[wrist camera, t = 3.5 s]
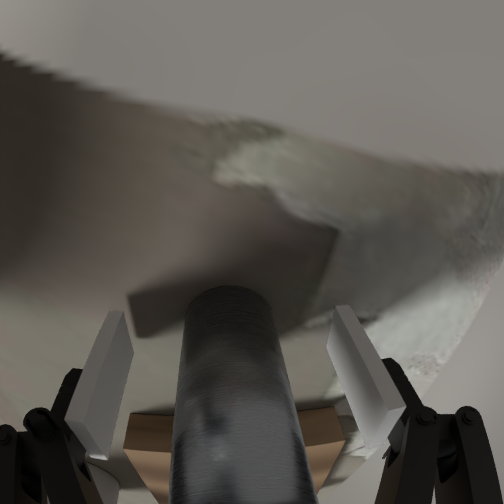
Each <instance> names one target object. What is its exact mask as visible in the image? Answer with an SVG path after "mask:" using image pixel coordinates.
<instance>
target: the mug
mask: <svg viewBox="0 0 504 504" xmlns="http://www.w3.org/2000/svg"><path fill="white" fill-rule="evenodd" d="M87 464H88V467H89V470H90V472H91V475H92V477H93V480H94V482H95V485H96V487H97V489H98V492H99V494H100V496H101V499H102V501H103V503H104V504H117V501H118V495H119V483H118V481H117V480H116V479H115V478H114V477H113V476H112V475H110V474H109V473H107V472H106V471H104V470H102V469H100V468H98V467H96V466H94V465H92V464H90V463H87ZM47 501H48V504H50V502H49V499H48V496H47Z"/></svg>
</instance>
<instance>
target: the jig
mask: <svg viewBox="0 0 504 504" xmlns="http://www.w3.org/2000/svg"><path fill="white" fill-rule="evenodd" d="M297 415H298V419H299V424H300V428H301V432H302V436H303V440H304V444H305V448H306V453H307V457H308V461H309V465H310V469H311V473H312V478H313V482H314V486H315V490H316V494H317V493H318V492H319V490H320V488H321V486H322V485H323V483H324V481H325V479H326V478H327V476H328V474H329V472H330V470H331V468H332V466H333V464H334V463H335V461H336V459H337V457H338V455H339V453H340V451H341V449H342V447H343V445H344V443H345V441H346V440H345V437H344V434H343V431H342V428H341V425H340V422H339V419H338V417H337V414H336V411H335V408H334V407H328V408H321V409H313V410H305V411H297ZM173 424H174V416H159V415H142V414H130V416H129V421H128V426H127V431H126V436H125V441H124V447H123V449H124V451H125V453H126V455H127V456H128V458H129V460H130V461H131V463H132V464H133V466H134V468H135V469H136V471H137V472H138V474H139V475H140V477H141V478H142V480H143V481H144V483H145V484H146V486H147V487H148V489H149V490H150V492H151V493H152V495H153V496H154V497H155V499H156V500H157V502H158V503H159V504H168V498H169V479H170V463H171V449H172V436H173Z"/></svg>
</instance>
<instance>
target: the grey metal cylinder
mask: <svg viewBox="0 0 504 504" xmlns="http://www.w3.org/2000/svg"><path fill="white" fill-rule="evenodd" d="M168 504H319V503H318V498H317V494H316V490H315V486H314V482H313V478H312V473H311V469H310V465H309V461H308V457H307V453H306V448H305V444H304V440H303V436H302V432H301V428H300V424H299V419H298V415H297V411H296V407H295V403H294V399H293V395H292V391H291V387H290V382H289V378H288V374H287V370H286V366H285V362H284V358H283V354H282V350H281V346H280V342H279V338H278V334H277V330H276V325H275V321H274V317H273V313H272V310H271V308H270V306H269V304H268V303H267V302H266V300H265V299H264V298H263V297H262V296H260V295H259V294H258V293H256V292H254V291H252V290H250V289H247V288H243V287H238V286H221V287H216V288H213V289H210V290H208V291H205V292H204V293H202V294H200V295H199V296H198V297H197V298H196V299H195V300H194V301H193V302H192V303H191V304H190V306H189V308H188V310H187V313H186V318H185V325H184V333H183V341H182V349H181V357H180V365H179V374H178V383H177V393H176V403H175V413H174V424H173V436H172V449H171V463H170V479H169V498H168Z"/></svg>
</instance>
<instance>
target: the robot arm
mask: <svg viewBox="0 0 504 504" xmlns="http://www.w3.org/2000/svg"><path fill="white" fill-rule="evenodd" d="M326 348H327V350H328V353H329V355H330V358H331V360H332V362H333V365H334V367H335V370H336V372H337V375H338V377H339V380H340V382H341V385H342V387H343V390H344V392H345V395H346V397H347V400H348V403H349V405H350V408H351V410H352V413H353V415H354V418H355V421H356V423H357V426H358V428H359V431H360V434H361V436H362V439H363V441H364V444H365V447H366V449H370V448H374V447H378V446H382V445H383V444H384V443H385V441H386V440H387V438H388V440H389V442H390V444H391V445H390V446H389V448H388V449H387V451H386V452H385V454H384V455H383V457H382V459H385V457H386V456H387V457H386V461H385V466H384V470H383V474H382V478H381V482H380V486H379V490H378V493H377V497H376V500H375V504H431V503H432V496H433V490H434V488H435V498H436V504H503V500H502V495H501V490H500V485H499V480H498V476H497V471H496V467H495V463H494V459H493V455H492V451H491V447H490V444H489V440H488V437H487V433H486V430H485V427H484V424H483V420H482V417H481V415H480V413H479V412H478V411H477V410H476V409H475V408H473V407H470V406H464V407H461V408H459V409H458V410H457V412H456V413H455V414H437V413H436V411H434V410H433V409H432V408H429V407H426V406H424V405H423V404H422V402H421V400H420V399H419V397H418V395H417V393H416V392H415V390H414V388H413V387H412V385H411V383H410V381H408V378H407V376H406V375H405V374H404V371H403V370H402V368H401V366H400V365H399V364H398V363H397V362H396V361H395V360H393V359H392V358H386V359H380V357H379V355H378V353H377V351H376V350H375V348H374V346H373V344H372V343H371V341H370V339H369V338H368V336H367V334H366V332H365V331H364V329H363V327H362V325H361V324H360V322H359V320H358V319H357V317H356V315H355V314H354V312H353V310H352V309H351V307H350V305H337V306H335V308H334V313H333V318H332V323H331V328H330V333H329V337H328V342H327V347H326ZM133 355H134V351H133V347H132V344H131V340H130V336H129V332H128V328H127V324H126V320H125V316H124V311H110V310H109V312H108V314H107V316H106V318H105V320H104V322H103V325H102V327H101V329H100V331H99V334H98V336H97V338H96V340H95V343H94V345H93V347H92V350H91V352H90V354H89V357H88V359H87V361H86V364H85V366H84V369H75V368H72V369H71V371H70V372H69V373H68V374H67V375H66V376H65V378H64V380H63V382H62V384H61V387H60V389H59V392H58V394H57V396H56V399H55V401H54V404H53V406H52V409H51V411H49V410H48V409H46V408H42V407H40V408H34V409H32V410H30V411H29V412H28V413H27V414H26V415H25V417H24V420H23V425H24V427H25V428H26V429H27V431H24V432H17V431H16V430H15V429H14V428H13V427H12V426H10V425H7V424H4V425H0V504H48V501H47V496H48V499H49V502H50V504H104V503H103V501H102V499H101V496H100V494H99V492H98V489H97V487H96V485H95V482H94V480H93V477H92V475H91V472H90V470H89V467H88V464H87V462H86V461H85V459H84V457H85V453H86V452H87V453H88V454H89V456H90V457H91V458H97V459H102V460H108V458H109V453H110V448H111V444H112V439H113V434H114V430H115V425H116V421H117V417H118V413H119V408H120V404H121V400H122V396H123V392H124V388H125V384H126V381H127V377H128V373H129V369H130V366H131V362H132V358H133Z"/></svg>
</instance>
